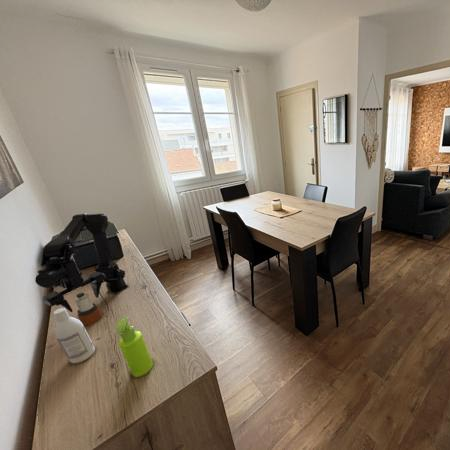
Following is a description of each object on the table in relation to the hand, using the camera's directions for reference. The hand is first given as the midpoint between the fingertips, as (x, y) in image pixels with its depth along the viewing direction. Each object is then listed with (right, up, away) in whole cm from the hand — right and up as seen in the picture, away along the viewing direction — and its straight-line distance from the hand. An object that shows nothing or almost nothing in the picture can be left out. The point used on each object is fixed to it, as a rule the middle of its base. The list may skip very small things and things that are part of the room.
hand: (84, 304), depth 99 cm
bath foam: (+12, -14, -14) cm, 23 cm away
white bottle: (0, -2, +1) cm, 2 cm away
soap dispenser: (+38, -15, -21) cm, 45 cm away
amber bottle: (0, -7, +3) cm, 8 cm away
